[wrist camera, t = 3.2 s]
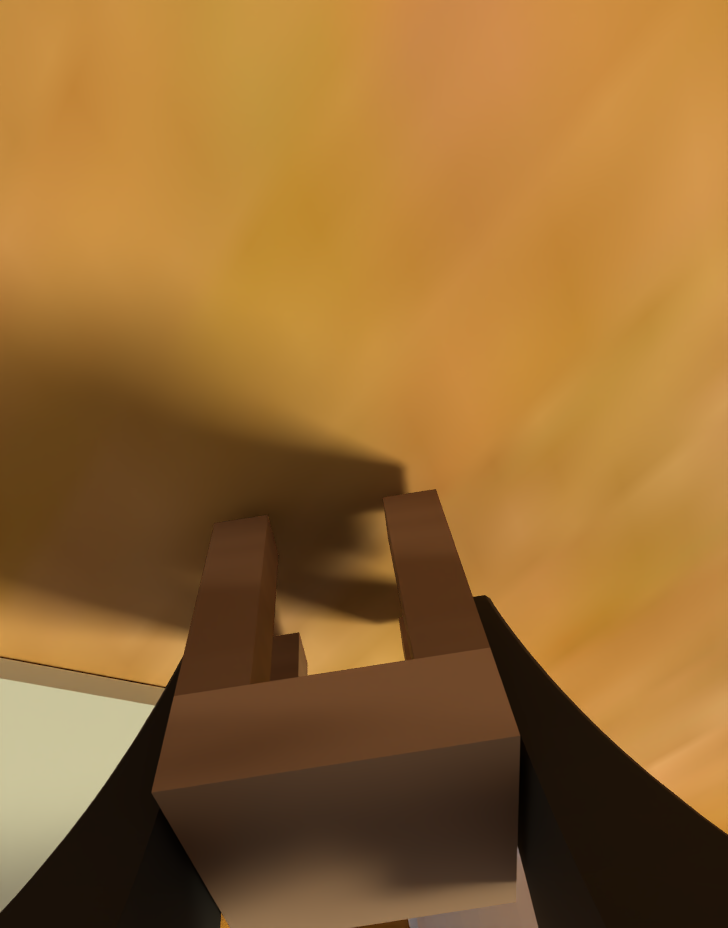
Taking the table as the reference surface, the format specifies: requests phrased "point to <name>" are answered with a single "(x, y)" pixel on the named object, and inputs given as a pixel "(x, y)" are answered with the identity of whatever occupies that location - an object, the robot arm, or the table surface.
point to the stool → (342, 747)
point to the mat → (57, 756)
